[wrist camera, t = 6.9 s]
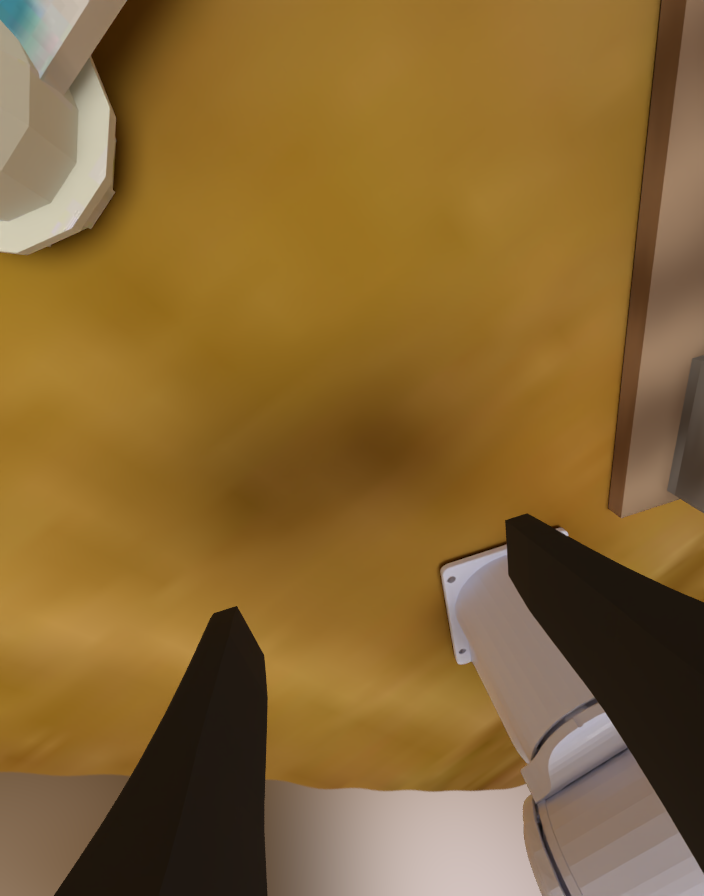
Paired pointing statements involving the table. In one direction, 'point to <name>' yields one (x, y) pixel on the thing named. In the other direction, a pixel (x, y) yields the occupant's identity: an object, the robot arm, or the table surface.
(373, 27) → the table surface
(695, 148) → the track base
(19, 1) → the toothbrush head
